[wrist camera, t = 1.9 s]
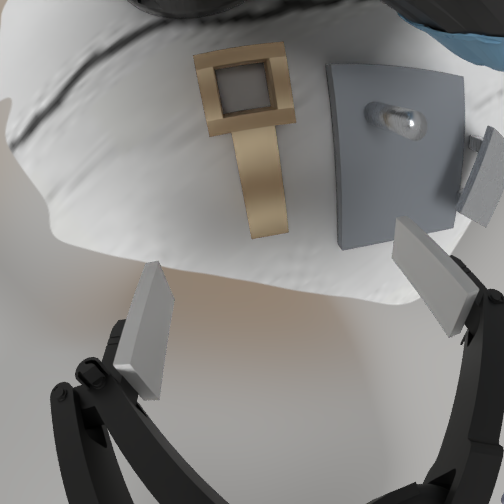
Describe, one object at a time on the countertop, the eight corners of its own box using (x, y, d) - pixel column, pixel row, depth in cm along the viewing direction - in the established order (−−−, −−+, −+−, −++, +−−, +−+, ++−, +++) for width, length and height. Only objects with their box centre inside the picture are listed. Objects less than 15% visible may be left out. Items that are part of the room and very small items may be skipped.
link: (198, 60, 21) (192, 55, 17) (275, 48, 21) (283, 41, 17) (232, 223, 30) (233, 242, 27) (297, 211, 30) (306, 229, 27)
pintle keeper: (356, 100, 24) (402, 110, 17) (478, 108, 23) (526, 124, 16) (360, 213, 31) (395, 254, 23) (471, 196, 30) (511, 226, 23)
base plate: (325, 64, 22) (330, 63, 20) (455, 75, 21) (463, 76, 20) (337, 243, 33) (342, 250, 31) (447, 222, 32) (453, 227, 31)
